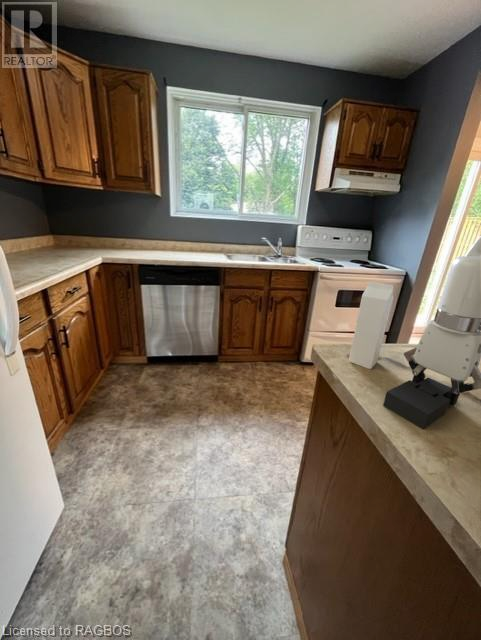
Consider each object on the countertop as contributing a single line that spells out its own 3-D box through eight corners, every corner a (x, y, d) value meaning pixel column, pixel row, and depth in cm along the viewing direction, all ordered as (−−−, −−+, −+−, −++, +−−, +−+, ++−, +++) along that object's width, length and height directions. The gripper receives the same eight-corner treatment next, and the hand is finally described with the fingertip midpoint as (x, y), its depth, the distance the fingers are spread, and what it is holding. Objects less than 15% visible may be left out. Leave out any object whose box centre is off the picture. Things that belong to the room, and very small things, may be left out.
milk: (370, 369, 71) (391, 287, 63) (347, 361, 74) (364, 282, 67) (377, 361, 75) (397, 283, 67) (355, 354, 79) (371, 279, 71)
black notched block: (405, 393, 61) (409, 379, 60) (445, 413, 55) (450, 399, 54) (382, 405, 57) (386, 391, 56) (423, 429, 50) (428, 414, 49)
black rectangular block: (423, 390, 63) (428, 377, 62) (448, 401, 59) (453, 388, 58) (408, 398, 59) (412, 385, 58) (433, 412, 55) (438, 397, 54)
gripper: (522, 333, 49) (486, 415, 55) (421, 306, 62) (401, 374, 68) (508, 340, 45) (471, 428, 51) (403, 310, 58) (384, 382, 64)
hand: (431, 397), depth 60 cm, fingers open, 5 cm apart
